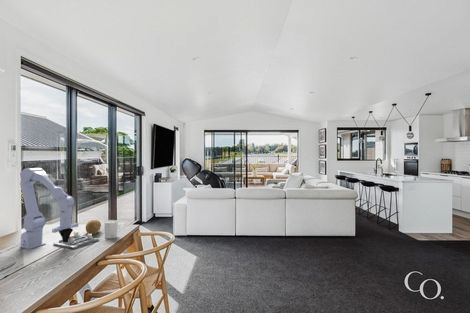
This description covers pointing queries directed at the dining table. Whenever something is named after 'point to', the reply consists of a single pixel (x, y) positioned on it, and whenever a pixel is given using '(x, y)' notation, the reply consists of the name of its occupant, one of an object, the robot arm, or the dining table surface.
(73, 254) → the dining table surface
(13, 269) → the dining table surface
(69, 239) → the breaker
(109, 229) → the white cup
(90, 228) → the potato
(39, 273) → the dining table surface
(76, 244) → the panel
